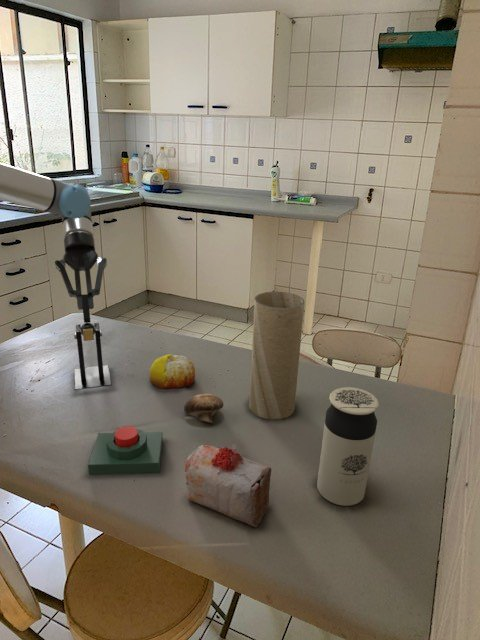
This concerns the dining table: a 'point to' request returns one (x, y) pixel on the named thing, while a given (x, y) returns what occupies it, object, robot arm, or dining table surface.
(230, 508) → the food item
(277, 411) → the tube
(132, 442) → the button
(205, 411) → the mushroom
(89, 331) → the lever
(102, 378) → the bracket
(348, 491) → the travel mug
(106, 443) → the button box
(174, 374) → the fruit
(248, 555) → the dining table surface
